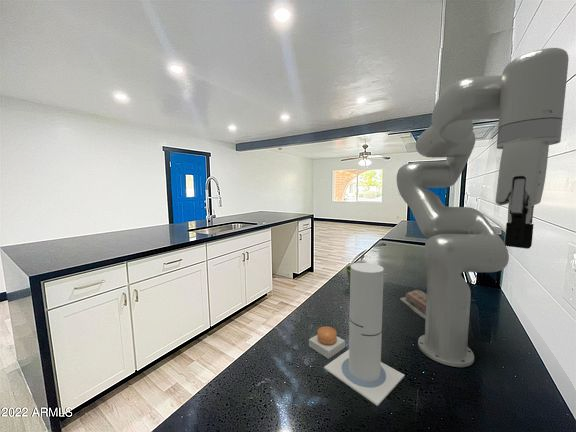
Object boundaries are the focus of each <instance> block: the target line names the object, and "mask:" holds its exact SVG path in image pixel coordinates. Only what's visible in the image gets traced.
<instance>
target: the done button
mask: <svg viewBox="0 0 576 432" xmlns="http://www.w3.org/2000/svg"><path fill="white" fill-rule="evenodd" d="M316 331H317V333H316V335H317V338H318V340H319V341H320V342H321V343H324V344H333V343H335V342H336V340H337V335H338V333H337V330H336V329H335V328H334V327H332V326H328V325H327V326H326V325H325V326H323V325H322V326H320V327H318V328H317V330H316Z"/></svg>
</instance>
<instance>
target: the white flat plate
mask: <svg viewBox="0 0 576 432" xmlns="http://www.w3.org/2000/svg"><path fill="white" fill-rule="evenodd" d="M323 370H326V372H327V373H329V374H331V375H333V376H334V377H335V378H337V379H338V380H339V381H341V382H343V384H345V385H347V386H348V387H350V388H351V389H352V390H353V391H355V392H356V393H358V394H359V395H361V396H362V397H364V398H365V399H366V400H368V401H370V402H371V403H372V404H373V405H375V406H377V407H378V406H380V404H381V403H382V402H383V401H384V400H385V399H386V398H387V397H388V395H389V394H390V393H391V392H392V391H393V390H394V389H395V388H396V387H397V386H398V385H399V383H400V382H401V381H402V380H403V379H404V378H405V374H404V373H402V372H400V371H398V370H396V369H395V368H393V367H392V366H389V365H387V364H385V363H384V362H382V361H381V370H380V377H379V379H378V380H376V381H373V382H364V381H361V380H358V379H357V378H355V377H354V376H353V375H352V374H351V373H350V371H349V349H347V350H345V352H343V353H341V354H340V355H338V356H337V357H335V358H334V359H333V360H331V361H330V362H329V363H327V364H326V365H324V366H323Z"/></svg>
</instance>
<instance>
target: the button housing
mask: <svg viewBox="0 0 576 432" xmlns="http://www.w3.org/2000/svg"><path fill="white" fill-rule="evenodd" d="M308 347H310V349H313V350H314V351H315V352H317V353H319V354H320V355H322V356H323V357H324V358H327V359H328V360H329V359H331V358H332V357H334V356H335V355H336V354H338V353H339V352H341V351H343V350H344V349H345V348H346V340H345V339H343V338H341V337H340V336H337V340H336V342H335V343H333V344H324V343H321V342H320V341H319V340H318V338H317V334H316V335H314V336H312V337H311V338H309V339H308Z"/></svg>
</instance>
